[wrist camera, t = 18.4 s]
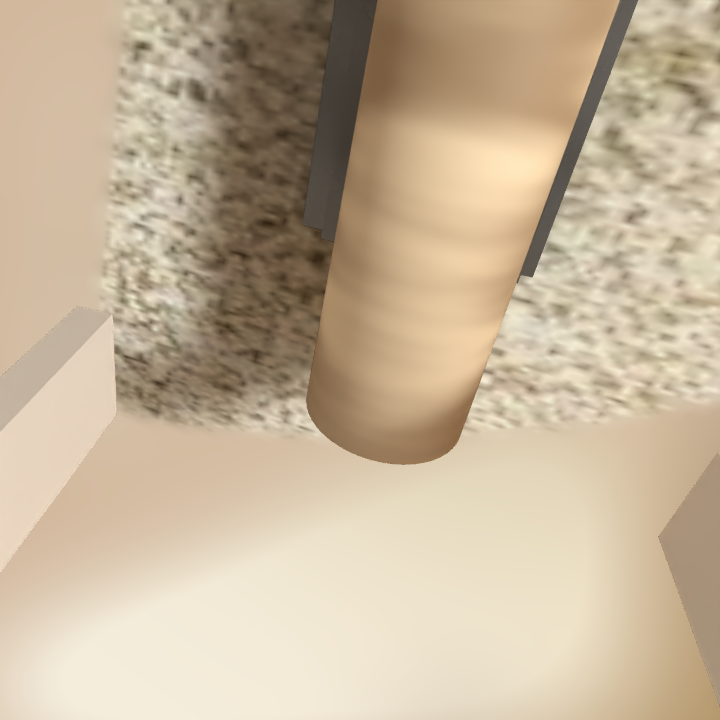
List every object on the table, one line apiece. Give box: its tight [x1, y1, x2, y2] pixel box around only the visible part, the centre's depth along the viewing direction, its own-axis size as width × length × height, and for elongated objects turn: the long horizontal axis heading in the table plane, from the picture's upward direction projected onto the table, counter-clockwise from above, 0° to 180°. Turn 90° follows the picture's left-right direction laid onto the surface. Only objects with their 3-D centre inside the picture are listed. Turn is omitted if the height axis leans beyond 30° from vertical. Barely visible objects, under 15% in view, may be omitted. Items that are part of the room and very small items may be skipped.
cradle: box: [302, 0, 638, 283], centre depth 17 cm, size 11×8×3 cm
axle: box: [306, 0, 620, 465], centre depth 15 cm, size 18×5×5 cm, turn 169°
